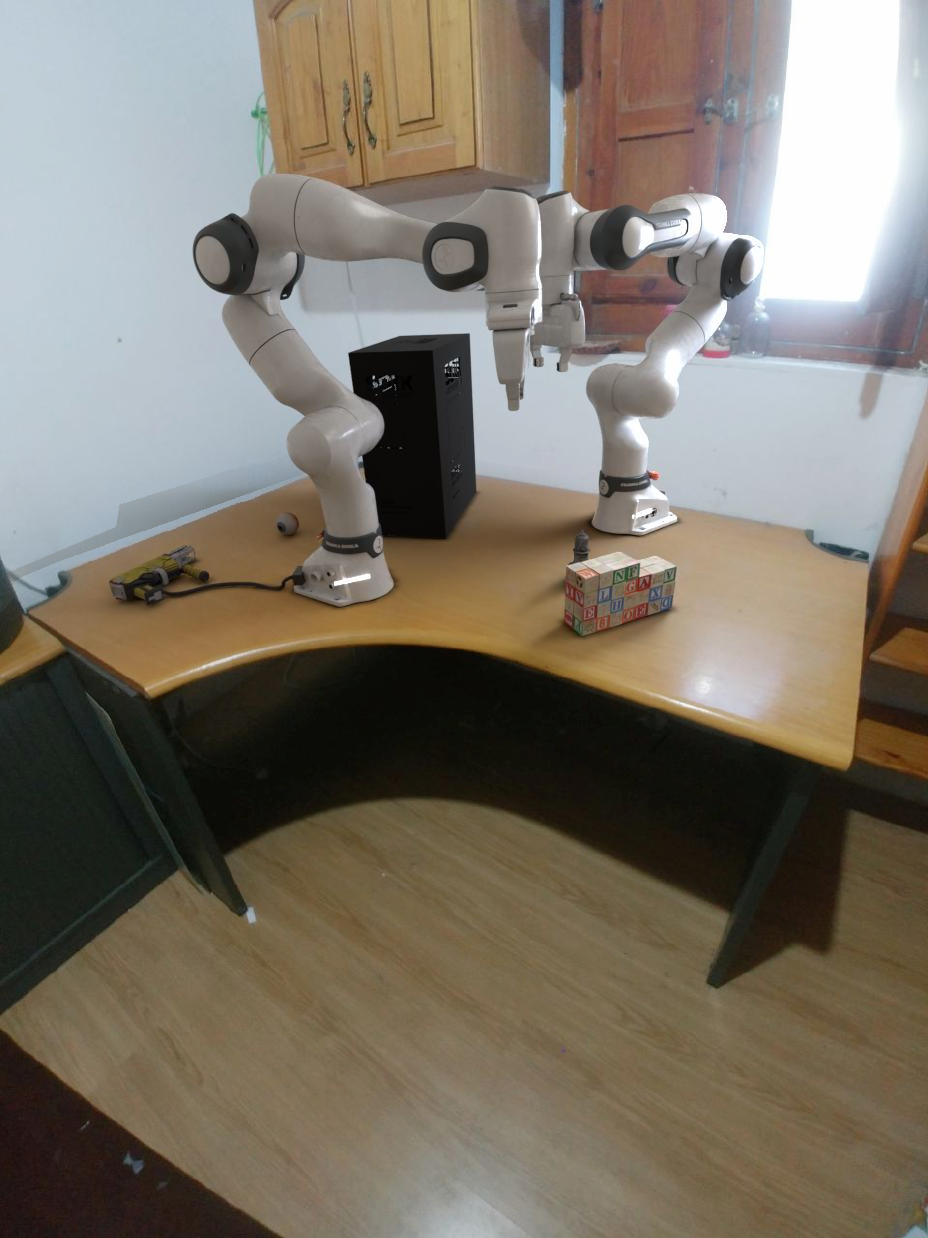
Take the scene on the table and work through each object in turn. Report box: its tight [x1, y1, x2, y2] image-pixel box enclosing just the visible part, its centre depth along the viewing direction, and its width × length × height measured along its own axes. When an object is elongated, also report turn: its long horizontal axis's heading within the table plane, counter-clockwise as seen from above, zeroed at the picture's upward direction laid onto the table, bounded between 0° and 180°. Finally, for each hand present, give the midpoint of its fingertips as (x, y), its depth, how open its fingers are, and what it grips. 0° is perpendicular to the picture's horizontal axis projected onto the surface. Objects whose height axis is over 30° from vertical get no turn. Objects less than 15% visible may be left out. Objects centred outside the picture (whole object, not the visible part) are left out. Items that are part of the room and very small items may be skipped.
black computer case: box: [347, 332, 477, 540], centre depth 163 cm, size 38×20×45 cm, turn 167°
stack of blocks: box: [563, 551, 678, 637], centre depth 115 cm, size 21×6×12 cm, turn 115°
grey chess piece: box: [566, 529, 591, 566], centre depth 129 cm, size 6×6×12 cm
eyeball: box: [275, 511, 300, 536], centre depth 163 cm, size 6×6×6 cm
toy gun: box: [108, 544, 210, 607], centre depth 141 cm, size 5×24×15 cm
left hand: (516, 404), depth 101 cm, fingers open, 8 cm apart
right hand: (549, 369), depth 124 cm, fingers open, 8 cm apart
